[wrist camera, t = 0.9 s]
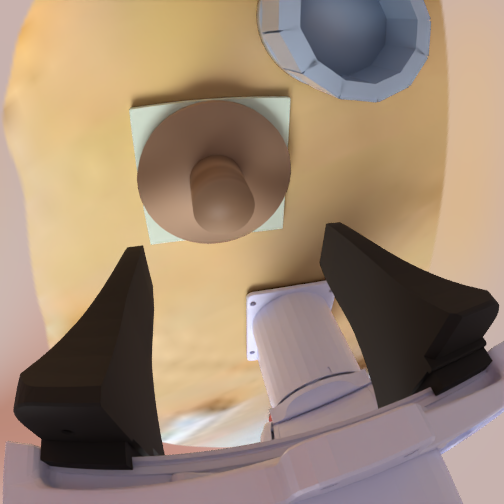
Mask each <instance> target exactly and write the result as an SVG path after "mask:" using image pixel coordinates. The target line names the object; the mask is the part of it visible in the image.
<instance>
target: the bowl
mask: <svg viewBox="0 0 504 504" xmlns="http://www.w3.org/2000/svg"><path fill="white" fill-rule="evenodd" d="M429 20H430V16H429V13H428V11H427V8H426V5H425V3H424V0H259V1H258V5H257V26H258V31H259V35H260V38H261V41H262V43H263V45H264V47H265V49H266V51H267V52H268V54H269V55H270V57H271V58H272V60H273V61H274V62H275V63H276V64H277V65H278V66H279V67H280V68H281V69H282V70H283V71H284V72H286V73H287V74H288V75H290V76H291V77H293V78H295V79H296V80H298V81H300V82H302V83H305V84H308V85H310V86H311V87H313V88H314V89H317V90H319V91H322V92H324V93H327V94H329V95H331V96H334V97H336V98H339V99H346V100H358V101H369V102H377V101H378V102H380V101H382V100H384V99H386V98H388V97H390V96H392V95H394V94H396V93H398V92H400V91H402V90H404V89H406V88H408V87H409V86H410V85H411V84H412V82H413V81H414V79H415V77H416V76H417V74H418V73H419V71H420V70H421V68H422V66H423V65H424V63H425V62H426V60H427V59H428V58H427V56H429V44H430V30H431V21H429ZM408 85H409V86H408Z"/></svg>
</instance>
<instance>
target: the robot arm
mask: <svg viewBox="0 0 504 504" xmlns="http://www.w3.org/2000/svg"><path fill="white" fill-rule="evenodd" d="M320 266H321V268H322V271H323V274H324V276H325V279H326V280H325V281H319V282H313V283H307V284H301V285H295V286H289V287H282V288H276V289H269V290H263V291H256V292H251V293H249V294H248V295H247V296H246V342H247V359H248V360H250V361H253V360H258V362H259V366H260V369H261V373H262V376H263V380H264V383H265V387H266V390H267V393H268V397H269V400H270V404H271V406H272V408H271V409H270V410H269V411H270V415H271V418H272V421H271V422H268V423H266V424H265V426H264V429H263V432H262V434H261V442H259V443H254V444H249V445H243V446H237V447H231V448H225V449H218V450H211V451H204V452H196V453H186V454H176V455H165V454H164V450H163V445H162V439H161V434H160V428H159V422H158V416H157V409H156V401H155V393H154V384H153V373H152V339H153V319H154V298H153V285H152V281H151V277H150V273H149V269H148V265H147V261H146V257H145V252H144V248H143V246H135V247H128V248H127V249H126V250H125V252H124V253H123V255H122V257H121V259H120V260H119V262H118V264H117V265H116V267H115V269H114V271H113V272H112V274H111V275H110V277H109V279H108V280H107V282H106V284H105V285H104V287H103V288H102V290H101V291H100V293H99V294H98V295H97V297H96V298H95V300H94V301H93V303H92V304H91V305H90V307H89V308H88V309H87V311H86V312H85V313H84V315H83V316H82V317H81V318H80V319H79V321H78V322H77V323H76V324H75V325H74V326H73V327H72V328H71V329H70V330H69V331H68V333H67V334H66V335H65V336H64V337H63V338H62V339H61V340H60V341H59V342H58V343H57V344H56V345H55V346H54V347H52V348H51V349H50V350H49V351H48V352H47V353H46V354H45V355H43V356H42V357H41V358H40V359H39V360H38V361H36V362H35V363H34V364H32V365H31V366H30V367H28V368H27V369H26V370H25V371H23V372H22V373H21V374H20V378H19V382H18V386H17V392H16V397H15V403H14V414H15V416H16V417H17V419H18V420H19V421H20V422H21V423H22V424H23V425H24V426H26V427H27V428H28V429H29V430H31V431H32V432H33V433H34V434H36V435H37V436H38V437H40V438H41V439H42V440H41V447H38V446H35V445H32V444H25V443H18V442H11V441H8V442H6V449H5V460H4V476H3V478H4V479H3V504H463V503H462V500H461V498H460V496H459V493H458V491H457V489H456V487H455V484H454V482H453V480H452V478H451V475H450V473H449V471H448V469H447V467H446V465H445V462H444V460H443V458H442V456H441V454H443V453H444V452H446V451H448V450H449V449H451V448H452V447H454V446H456V445H457V444H459V443H460V442H462V441H463V440H465V439H466V438H468V437H469V436H471V435H472V434H474V433H475V432H477V431H478V430H480V429H481V428H482V427H484V426H485V425H486V424H488V423H489V422H491V421H492V420H493V419H495V418H496V417H497V416H499V415H500V414H501V413H503V412H504V341H503V342H501V343H500V344H498V345H496V346H494V347H493V348H491V349H490V350H489V351H488V352H487V351H486V350H485V349H484V346H485V345H486V341H485V340H484V338H483V336H484V334H485V333H486V332H487V330H488V329H489V327H490V326H491V324H492V323H493V321H494V320H495V318H496V316H497V313H498V311H499V304H498V302H497V301H496V300H495V299H494V298H493V297H492V295H491V294H490V293H489V292H488V291H487V290H482V289H478V288H474V287H470V286H466V285H462V284H459V283H456V282H452V281H450V280H447V279H444V278H441V277H439V276H436V275H434V274H431V273H429V272H427V271H424V270H422V269H420V268H418V267H416V266H414V265H412V264H410V263H408V262H406V261H404V260H402V259H400V258H398V257H397V256H395V255H393V254H391V253H390V252H388V251H386V250H385V249H383V248H381V247H380V246H378V245H376V244H375V243H373V242H372V241H370V240H369V239H367V238H365V237H364V236H362V235H361V234H359V233H357V232H356V231H354V230H353V229H351V228H349V227H348V226H346V225H344V224H342V223H340V222H338V223H328V224H326V228H325V235H324V241H323V247H322V252H321V258H320ZM334 298H336V300H337V301H338V303H339V305H340V307H341V309H342V310H343V312H344V314H345V316H346V318H347V319H348V321H349V323H350V325H351V327H352V329H353V331H354V333H355V336H356V338H357V341H358V343H359V346H360V348H361V351H362V354H363V357H364V360H365V363H366V365H367V368H368V372H369V375H370V378H371V379H369V377H368V375H367V373H366V371H365V369H362V370H361V369H360V367H359V365H358V363H357V361H356V359H355V357H354V355H353V353H352V351H351V349H350V347H349V345H348V343H347V341H346V339H345V337H344V336H343V334H342V332H341V330H340V328H339V326H338V324H337V322H336V320H335V318H334V316H333V314H332V312H331V309H332V305H333V301H334ZM253 301H254V302H253ZM251 302H252V303H251Z"/></svg>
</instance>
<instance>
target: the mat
mask: <svg viewBox="0 0 504 504" xmlns="http://www.w3.org/2000/svg"><path fill="white" fill-rule="evenodd" d="M210 100H224V101H231V102H236V103H239V104H243V105H245V106H247V107H250V108H252V109H254V110H255V111H257V112H258V113H260V114H261V115H263V116H264V117H265V118H266V119H267V120H268V121H270V122H271V123H272V124H273V125H274V127H275V128H276V129H277V130H278V131H279V133H280V134H281V136H282V137H283V139H284V142H285V144H286V146H287V149H288V136H289V117H290V98H289V97H287V96H254V97H228V98H212V99H199V100H187V101H178V102H169V103H161V104H153V105H146V106H139V107H132V108H130V109H129V112H130V121H131V129H132V137H133V144H134V152H135V159H136V165H137V172H138V165H139V160H140V157H141V154H142V151H143V148H144V145H145V144H146V142H147V140H148V138H149V136H150V135H151V134H152V132H153V131H154V129H155V128H156V127H157V126H158V125H159V124H160V123H161V122H162V121H163V120H164V119H166V118H167V117H168V116H169V115H171V114H172V113H174V112H176V111H177V110H179V109H181V108H183V107H186V106H188V105H191V104H194V103H198V102H202V101H210ZM284 202H285V197H284V199H283V201H282V203H281V204H280V206H279V208H278V209H277V210H276V212H275V213H274V214H273V215H272V216H271V217H270V218H269V219H268V220H267V221H266V222H265V223H264V224H263V225H262V226H260V227H259V228H257V229H256V230H254V231H253V232H258V231H266V230H275V229H283V216H284ZM143 207H144V205H143ZM144 212H145V218H146V223H147V228H148V233H149V238H150V243H151V245H152V244H159V243H167V242H175V241H183V239H181V238H178V237H176V236H174V235H172V234H170V233H168V232H167V231H165V230H164V229H163V228H161V227H160V226H159V225H158V224H157V223H156V222H155V221H154V220H153V219H152V218H151V216H150V215H149V214H148V212H147V211H146V209H145V207H144Z"/></svg>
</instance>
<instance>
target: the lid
mask: <svg viewBox="0 0 504 504" xmlns="http://www.w3.org/2000/svg"><path fill="white" fill-rule="evenodd" d="M290 175H291V163H290V156H289V152H288V149H287V146H286V144H285V142H284V139H283V137H282V136H281V134H280V133H279V131H278V130H277V129H276V128H275V127H274V125H273V124H272V123H271V122H270V121H268V120H267V119H266V118H265V117H264V116H263V115H261V114H260V113H258V112H257V111H255V110H254V109H252V108H250V107H247V106H245V105H243V104H239V103H236V102H231V101H224V100H210V101H202V102H198V103H194V104H191V105H188V106H186V107H183V108H181V109H179V110H177V111H176V112H174V113H172V114H171V115H169V116H168V117H167V118H166V119H164V120H163V121H162V122H161V123H160V124H159V125H158V126H157V127H156V128H155V129H154V131H153V132H152V134H151V135H150V136H149V138H148V140H147V142H146V144H145V145H144V148H143V151H142V154H141V157H140V160H139V165H138V173H137V183H138V190H139V194H140V198H141V200H142V203H143V205H144V207H145V209H146V211H147V212H148V214H149V215H150V216H151V218H152V219H153V220H154V221H155V222H156V223H157V224H158V225H159V226H160V227H161V228H163V229H164V230H165V231H167V232H168V233H170V234H172V235H174V236H176V237H178V238H181V239H183V240H187V241H191V242H196V243H207V244H212V243H222V242H228V241H231V240H235V239H238V238H240V237H243V236H245V235H247V234H249V233H251V232H253V231H254V230H256V229H257V228H259V227H260V226H262V225H263V224H264V223H265V222H266V221H267V220H268V219H269V218H270V217H271V216H272V215H273V214H274V213H275V212H276V210H277V209H278V208H279V206H280V204H281V203H282V201H283V199H284V197H285V194H286V192H287V189H288V186H289V182H290Z"/></svg>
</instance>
